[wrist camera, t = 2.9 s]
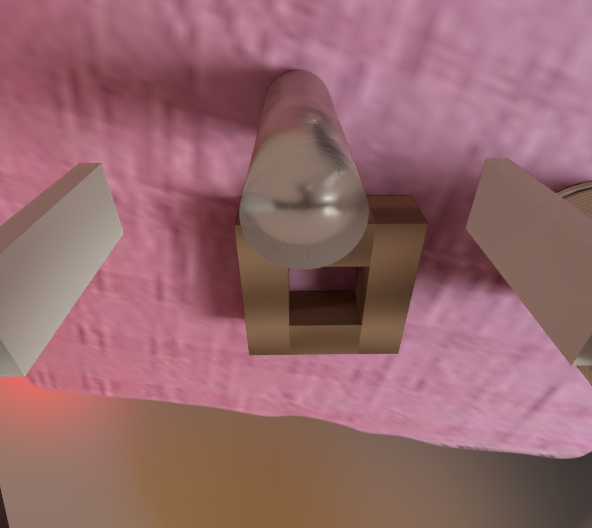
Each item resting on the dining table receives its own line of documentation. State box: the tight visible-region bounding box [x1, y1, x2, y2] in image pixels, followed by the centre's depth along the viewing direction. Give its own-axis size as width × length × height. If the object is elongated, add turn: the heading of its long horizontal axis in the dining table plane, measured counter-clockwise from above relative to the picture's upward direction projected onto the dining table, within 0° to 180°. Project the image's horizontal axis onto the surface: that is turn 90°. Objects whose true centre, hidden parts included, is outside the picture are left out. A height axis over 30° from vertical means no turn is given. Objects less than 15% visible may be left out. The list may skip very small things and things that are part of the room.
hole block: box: [234, 195, 428, 355], centre depth 28 cm, size 12×12×4 cm
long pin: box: [239, 70, 369, 270], centre depth 17 cm, size 4×4×14 cm
